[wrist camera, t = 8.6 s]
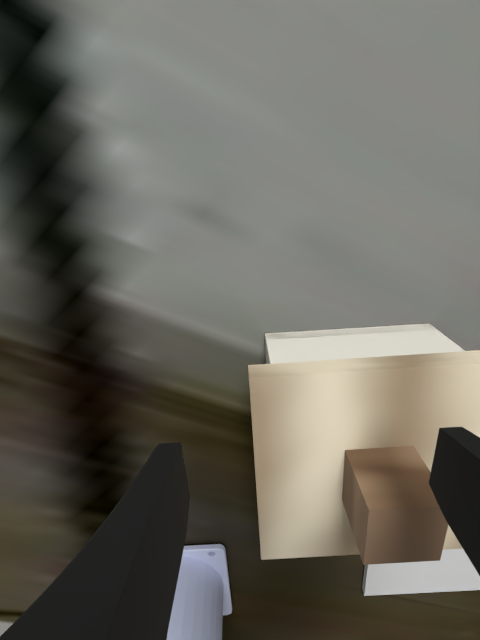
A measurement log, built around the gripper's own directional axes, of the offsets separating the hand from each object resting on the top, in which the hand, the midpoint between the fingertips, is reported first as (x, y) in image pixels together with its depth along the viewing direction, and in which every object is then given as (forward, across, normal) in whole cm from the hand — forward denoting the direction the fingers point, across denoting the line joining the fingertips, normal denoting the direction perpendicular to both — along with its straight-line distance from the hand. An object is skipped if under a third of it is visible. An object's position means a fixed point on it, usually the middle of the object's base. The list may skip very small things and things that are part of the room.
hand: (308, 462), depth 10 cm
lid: (+5, -4, +5) cm, 9 cm away
